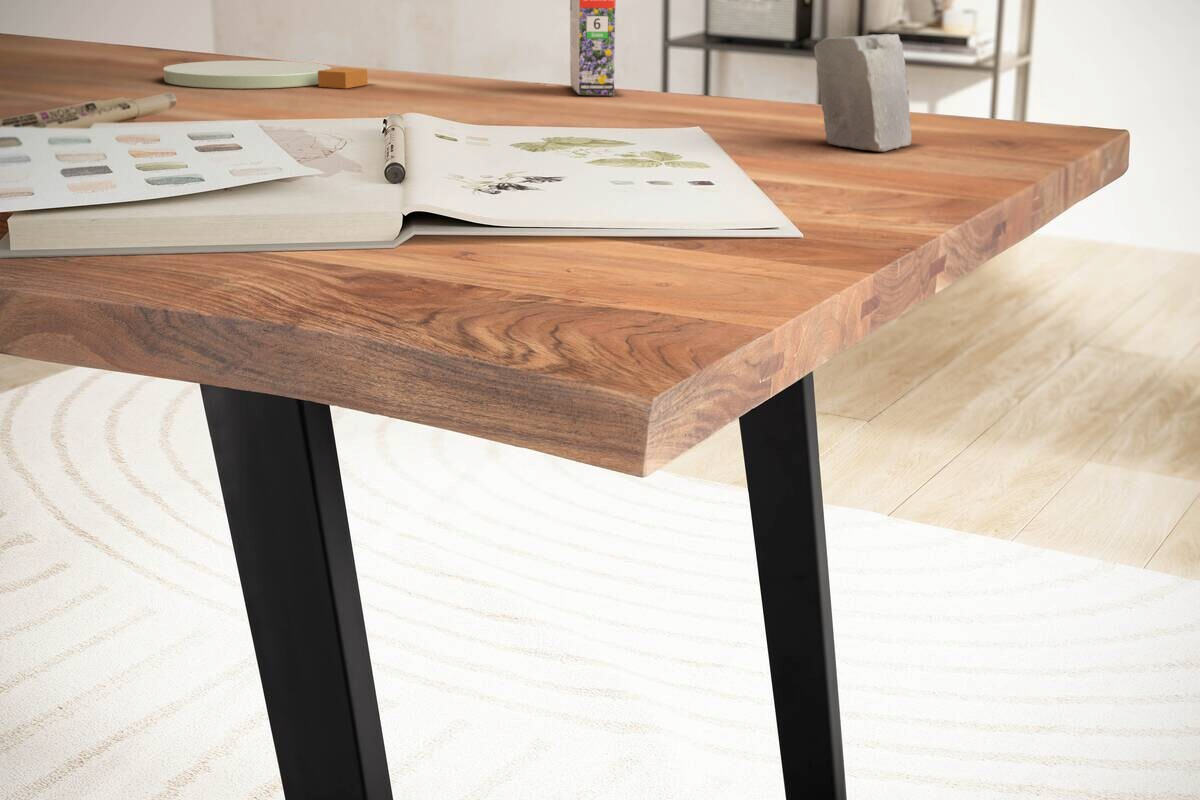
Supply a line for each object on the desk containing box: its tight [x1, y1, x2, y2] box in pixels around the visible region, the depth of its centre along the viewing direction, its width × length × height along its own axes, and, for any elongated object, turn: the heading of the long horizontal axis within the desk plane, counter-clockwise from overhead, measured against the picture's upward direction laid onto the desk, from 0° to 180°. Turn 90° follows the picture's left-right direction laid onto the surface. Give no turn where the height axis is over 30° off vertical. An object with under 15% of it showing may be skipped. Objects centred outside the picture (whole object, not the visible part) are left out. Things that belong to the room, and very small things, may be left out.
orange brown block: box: [318, 67, 368, 90], centre depth 122 cm, size 3×4×2 cm
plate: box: [162, 59, 332, 90], centre depth 126 cm, size 16×16×1 cm
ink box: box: [569, 0, 616, 96], centre depth 119 cm, size 4×8×15 cm, turn 7°
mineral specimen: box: [813, 32, 913, 152], centre depth 91 cm, size 7×9×8 cm
